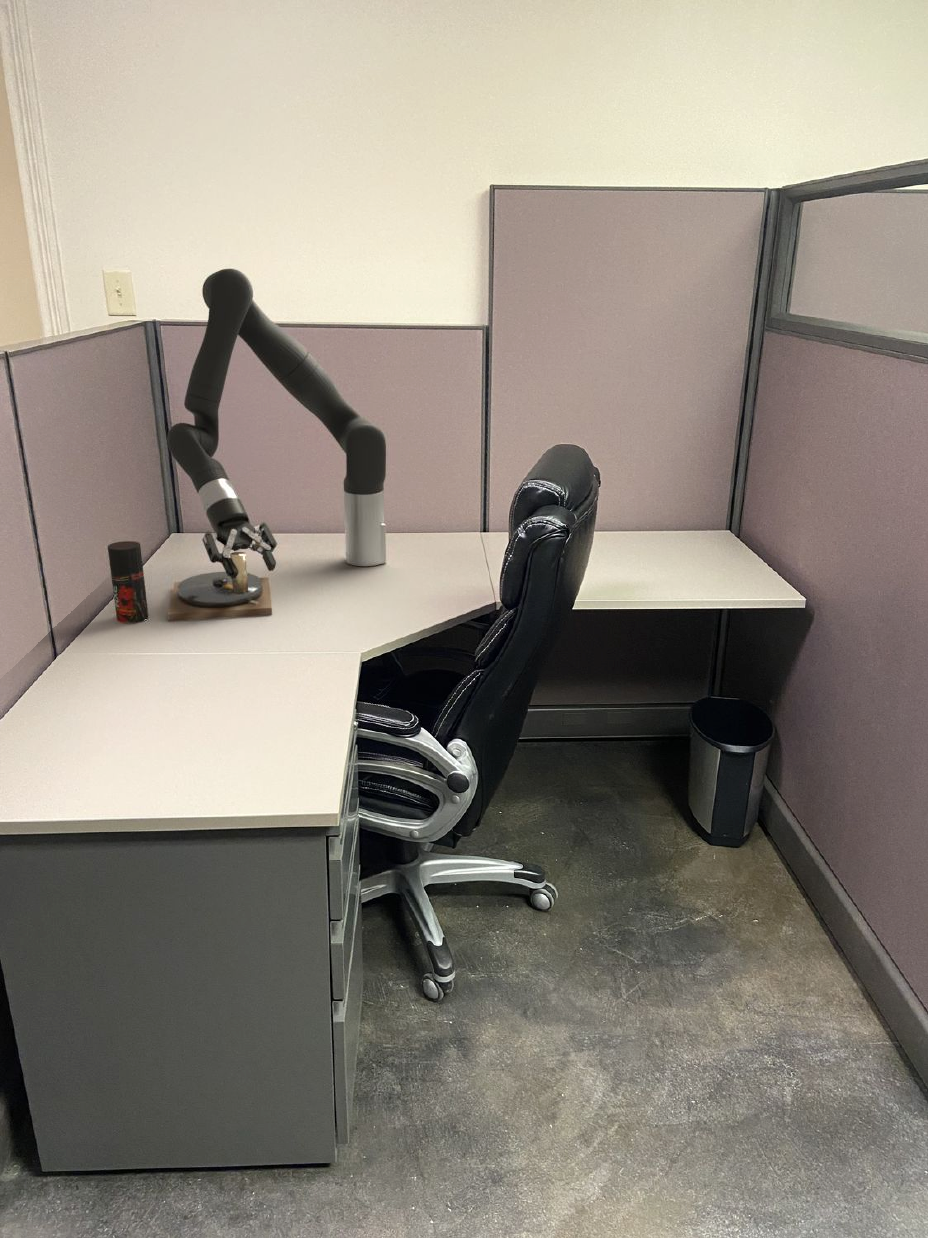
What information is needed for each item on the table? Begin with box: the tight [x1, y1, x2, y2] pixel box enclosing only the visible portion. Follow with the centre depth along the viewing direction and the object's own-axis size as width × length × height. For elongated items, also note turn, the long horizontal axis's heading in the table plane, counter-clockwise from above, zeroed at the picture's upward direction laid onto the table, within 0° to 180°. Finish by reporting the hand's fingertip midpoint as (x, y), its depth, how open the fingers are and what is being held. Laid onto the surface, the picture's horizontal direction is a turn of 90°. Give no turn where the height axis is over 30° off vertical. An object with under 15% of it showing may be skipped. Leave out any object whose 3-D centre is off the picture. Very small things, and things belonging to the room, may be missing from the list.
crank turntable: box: [178, 551, 263, 607], centre depth 189 cm, size 17×17×10 cm
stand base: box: [167, 576, 273, 622], centre depth 191 cm, size 20×20×2 cm
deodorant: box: [107, 540, 149, 625], centre depth 179 cm, size 6×6×15 cm
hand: (254, 572), depth 185 cm, fingers open, 8 cm apart
